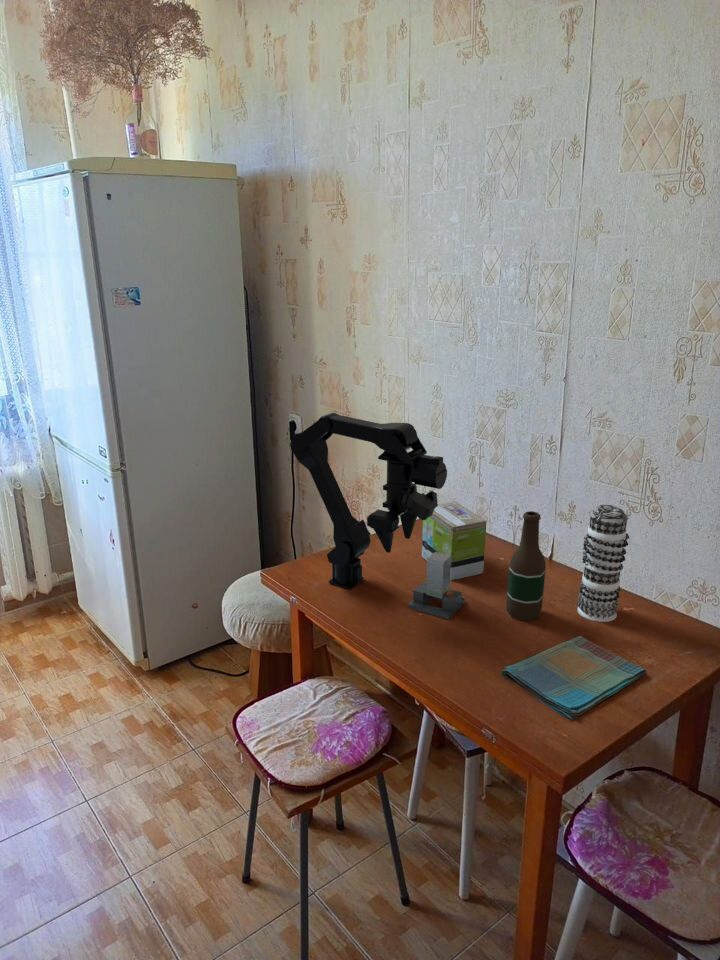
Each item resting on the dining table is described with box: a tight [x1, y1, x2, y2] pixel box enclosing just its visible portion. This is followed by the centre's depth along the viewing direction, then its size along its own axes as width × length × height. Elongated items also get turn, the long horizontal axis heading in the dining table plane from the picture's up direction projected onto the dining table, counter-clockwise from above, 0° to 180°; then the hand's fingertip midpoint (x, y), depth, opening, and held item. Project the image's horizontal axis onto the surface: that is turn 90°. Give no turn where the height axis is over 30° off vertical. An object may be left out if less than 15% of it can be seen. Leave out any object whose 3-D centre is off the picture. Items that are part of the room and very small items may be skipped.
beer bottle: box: [505, 511, 547, 622], centre depth 157 cm, size 8×8×24 cm
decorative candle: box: [577, 504, 630, 623], centre depth 157 cm, size 9×9×25 cm
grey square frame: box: [407, 581, 467, 620], centre depth 164 cm, size 10×9×4 cm
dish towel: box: [501, 635, 647, 721], centre depth 138 cm, size 17×23×2 cm
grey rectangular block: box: [425, 552, 451, 599], centre depth 162 cm, size 4×4×9 cm
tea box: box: [421, 501, 487, 581], centre depth 182 cm, size 15×10×15 cm
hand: (398, 545), depth 164 cm, fingers open, 9 cm apart
